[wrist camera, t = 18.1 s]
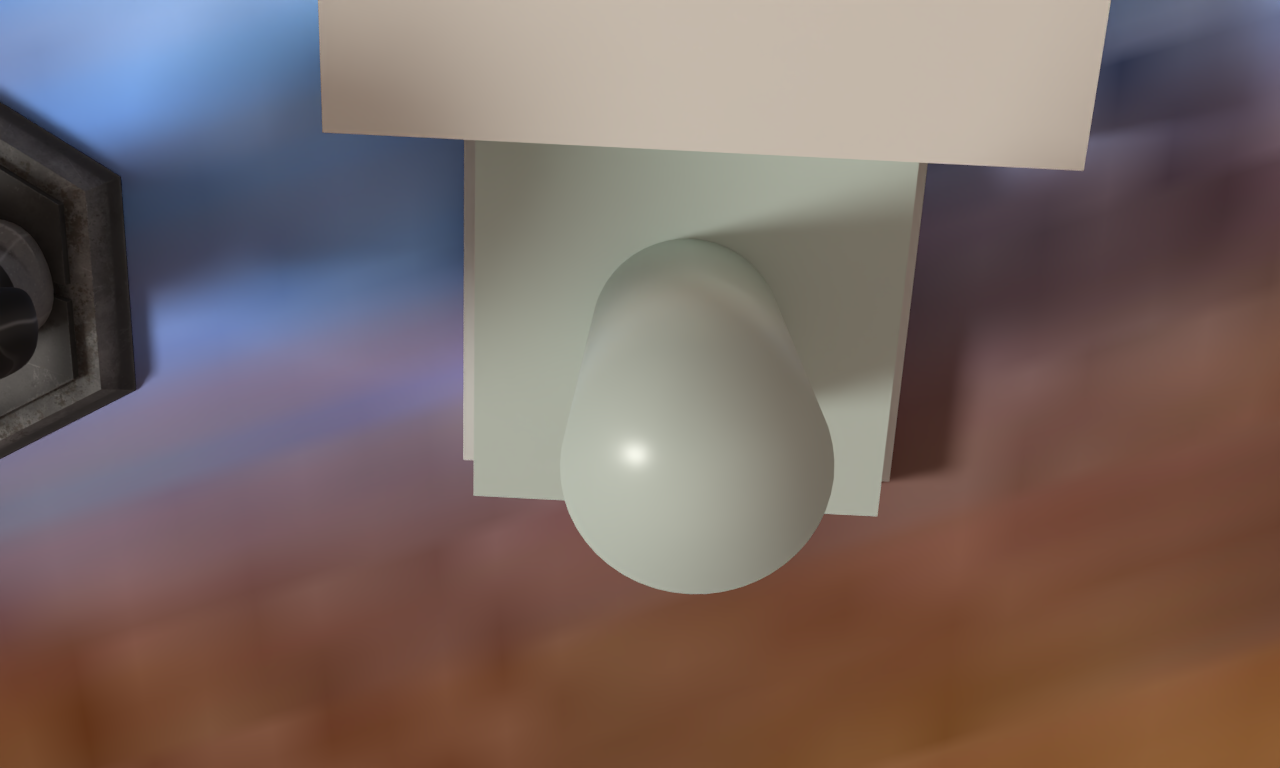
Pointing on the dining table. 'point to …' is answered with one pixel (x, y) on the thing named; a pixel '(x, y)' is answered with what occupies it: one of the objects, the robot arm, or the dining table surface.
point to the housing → (725, 75)
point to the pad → (470, 307)
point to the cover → (687, 347)
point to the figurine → (58, 285)
